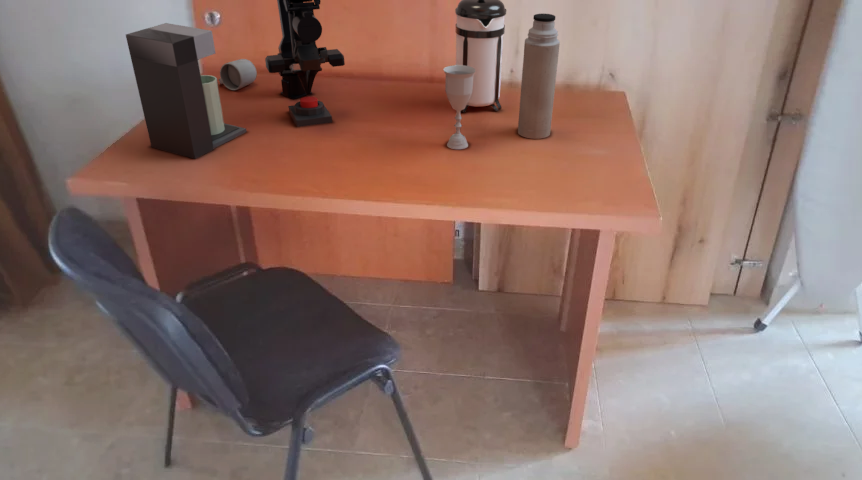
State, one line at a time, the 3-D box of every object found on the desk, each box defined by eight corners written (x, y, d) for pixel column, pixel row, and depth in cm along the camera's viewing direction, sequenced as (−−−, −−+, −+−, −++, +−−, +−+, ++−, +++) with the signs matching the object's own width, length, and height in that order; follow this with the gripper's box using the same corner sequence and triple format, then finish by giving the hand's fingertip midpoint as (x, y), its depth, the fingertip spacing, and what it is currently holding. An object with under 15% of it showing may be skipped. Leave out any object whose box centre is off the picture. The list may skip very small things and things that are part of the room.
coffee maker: (206, 122, 178) (187, 16, 163) (248, 132, 172) (232, 24, 158) (151, 147, 164) (125, 34, 150) (195, 159, 159) (172, 43, 144)
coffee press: (518, 103, 189) (526, -14, 173) (480, 119, 179) (486, -3, 163) (469, 89, 199) (473, -23, 183) (431, 103, 189) (431, -14, 173)
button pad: (289, 112, 183) (287, 99, 182) (322, 108, 186) (321, 95, 184) (297, 127, 175) (295, 114, 173) (332, 122, 177) (331, 109, 175)
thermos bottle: (523, 124, 176) (532, 9, 161) (554, 129, 174) (566, 13, 158) (513, 135, 170) (522, 17, 155) (544, 141, 168) (556, 20, 152)
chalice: (476, 141, 167) (479, 67, 157) (468, 152, 162) (471, 75, 152) (447, 137, 169) (448, 63, 159) (438, 148, 164) (439, 72, 154)
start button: (299, 104, 180) (298, 97, 179) (315, 102, 181) (315, 95, 180) (302, 109, 176) (301, 103, 175) (319, 107, 178) (319, 101, 177)
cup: (225, 124, 173) (217, 74, 166) (223, 134, 168) (215, 83, 161) (197, 125, 172) (188, 75, 166) (194, 136, 167) (184, 85, 160)
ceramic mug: (260, 83, 203) (256, 57, 199) (243, 92, 196) (238, 65, 192) (231, 79, 206) (226, 53, 202) (213, 87, 200) (208, 60, 196)
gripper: (268, 43, 159) (276, 109, 168) (348, 36, 165) (352, 100, 173) (261, 32, 168) (269, 94, 177) (337, 25, 174) (341, 86, 182)
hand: (308, 94), depth 177 cm, fingers closed
